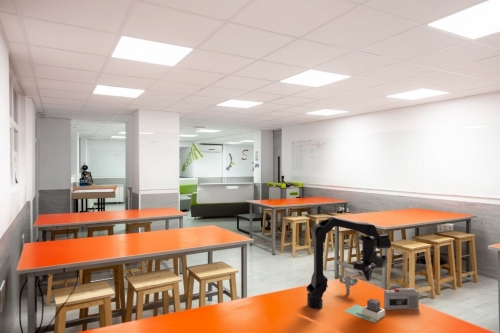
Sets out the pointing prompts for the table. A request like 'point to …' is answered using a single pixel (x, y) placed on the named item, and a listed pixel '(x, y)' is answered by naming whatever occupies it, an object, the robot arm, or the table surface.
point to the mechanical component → (348, 282)
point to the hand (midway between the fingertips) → (368, 280)
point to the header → (373, 313)
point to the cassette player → (401, 299)
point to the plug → (373, 305)
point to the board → (360, 313)
